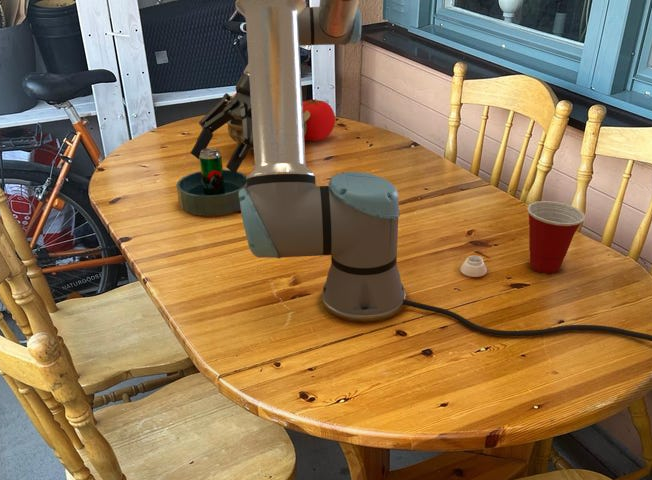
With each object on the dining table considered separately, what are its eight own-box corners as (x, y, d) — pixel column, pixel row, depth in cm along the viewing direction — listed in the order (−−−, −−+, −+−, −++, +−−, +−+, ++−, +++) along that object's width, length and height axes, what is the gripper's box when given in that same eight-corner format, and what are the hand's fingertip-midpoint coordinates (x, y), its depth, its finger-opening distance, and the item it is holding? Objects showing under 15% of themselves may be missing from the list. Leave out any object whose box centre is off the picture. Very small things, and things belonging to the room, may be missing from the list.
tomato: (343, 137, 204) (343, 98, 198) (311, 148, 197) (310, 109, 190) (315, 129, 211) (313, 91, 205) (283, 139, 204) (281, 101, 197)
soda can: (230, 199, 167) (225, 149, 160) (216, 206, 164) (210, 156, 157) (214, 195, 170) (208, 146, 163) (200, 202, 166) (193, 152, 159)
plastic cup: (584, 277, 135) (596, 219, 128) (530, 282, 134) (540, 224, 127) (560, 251, 144) (571, 196, 137) (510, 256, 142) (518, 201, 135)
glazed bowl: (265, 202, 167) (264, 181, 164) (208, 224, 157) (205, 202, 154) (222, 184, 177) (220, 164, 174) (165, 203, 167) (162, 182, 164)
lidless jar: (476, 281, 134) (491, 272, 137) (477, 267, 133) (493, 258, 135) (455, 272, 137) (470, 264, 140) (456, 259, 135) (471, 250, 138)
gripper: (302, 102, 157) (256, 184, 157) (233, 83, 172) (191, 158, 172) (283, 82, 151) (235, 167, 151) (213, 64, 166) (170, 142, 166)
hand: (212, 163), depth 162 cm, fingers open, 13 cm apart
